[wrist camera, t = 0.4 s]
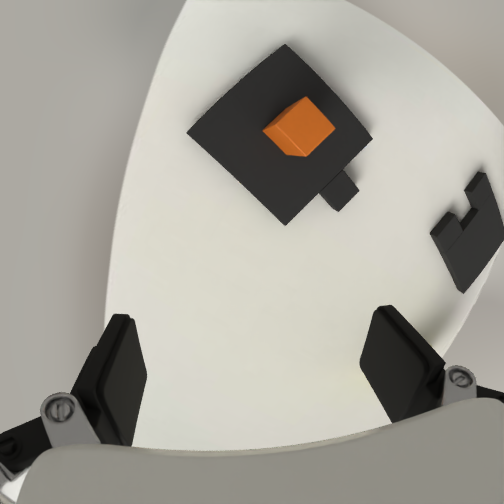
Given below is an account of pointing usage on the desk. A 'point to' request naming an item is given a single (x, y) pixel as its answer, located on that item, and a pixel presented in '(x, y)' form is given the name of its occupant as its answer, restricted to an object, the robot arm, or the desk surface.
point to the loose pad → (263, 156)
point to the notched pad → (470, 234)
